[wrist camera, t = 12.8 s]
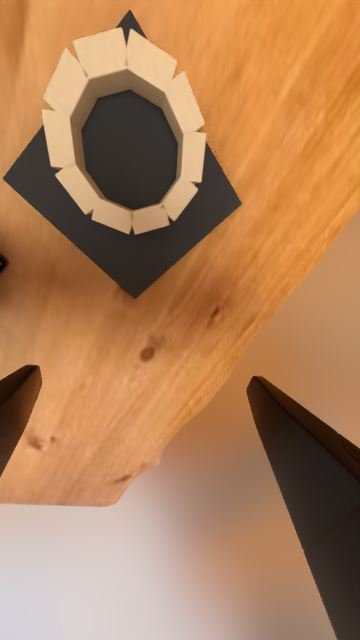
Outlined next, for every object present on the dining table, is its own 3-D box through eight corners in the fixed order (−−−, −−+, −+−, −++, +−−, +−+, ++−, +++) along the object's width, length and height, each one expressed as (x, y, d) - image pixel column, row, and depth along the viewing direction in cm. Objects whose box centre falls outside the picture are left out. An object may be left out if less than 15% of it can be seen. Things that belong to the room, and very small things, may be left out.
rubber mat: (134, 297, 20) (134, 299, 20) (5, 179, 14) (2, 178, 14) (240, 203, 17) (242, 203, 17) (130, 13, 12) (129, 8, 11)
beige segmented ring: (122, 252, 17) (119, 259, 15) (24, 121, 13) (1, 106, 11) (218, 185, 16) (229, 183, 14) (145, 12, 12) (145, -29, 9)
